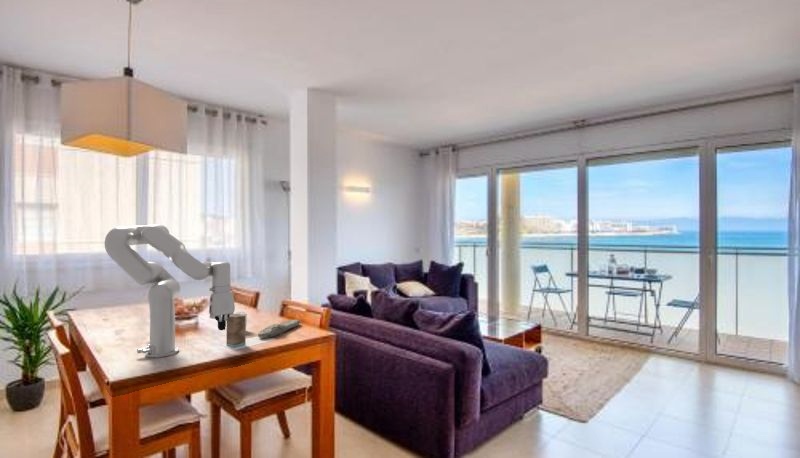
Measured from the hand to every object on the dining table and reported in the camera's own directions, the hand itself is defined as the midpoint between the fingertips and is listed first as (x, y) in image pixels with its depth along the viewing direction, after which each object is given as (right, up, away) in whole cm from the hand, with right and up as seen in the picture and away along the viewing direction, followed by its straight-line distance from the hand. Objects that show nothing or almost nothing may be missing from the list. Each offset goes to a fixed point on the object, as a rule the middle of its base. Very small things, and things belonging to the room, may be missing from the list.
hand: (221, 329), depth 185 cm
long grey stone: (+17, -9, +32) cm, 37 cm away
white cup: (-4, -9, +30) cm, 31 cm away
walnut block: (+4, -9, +6) cm, 11 cm away
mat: (+8, -9, +11) cm, 17 cm away
